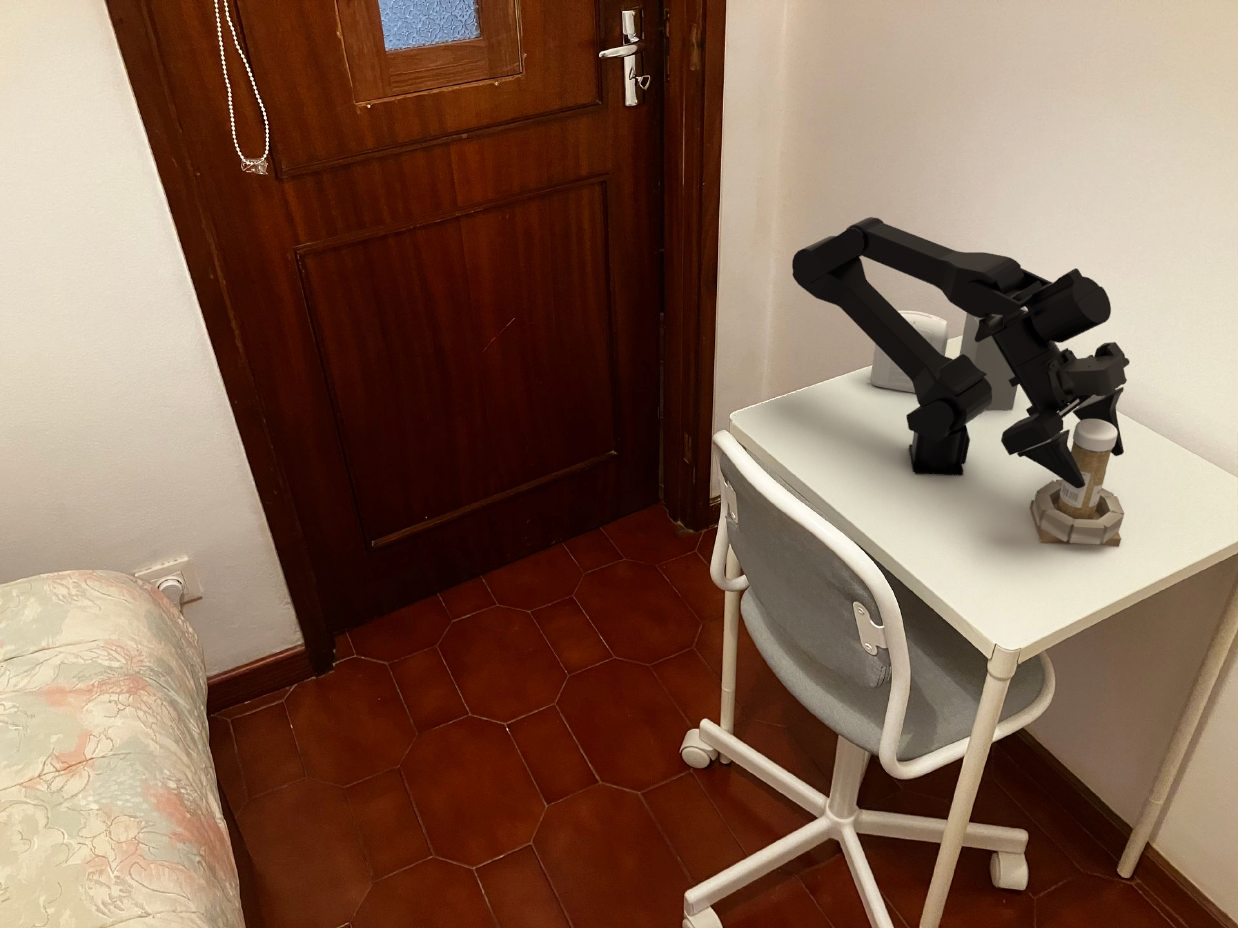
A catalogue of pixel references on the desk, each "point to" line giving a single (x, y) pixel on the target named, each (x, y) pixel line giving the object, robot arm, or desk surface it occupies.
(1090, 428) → the sprinkles bottle
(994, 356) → the perfume bottle
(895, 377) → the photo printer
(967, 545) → the desk surface
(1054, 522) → the octagonal open basket
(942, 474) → the robot arm
